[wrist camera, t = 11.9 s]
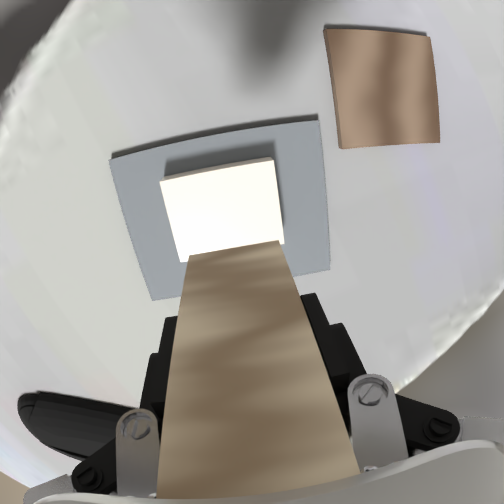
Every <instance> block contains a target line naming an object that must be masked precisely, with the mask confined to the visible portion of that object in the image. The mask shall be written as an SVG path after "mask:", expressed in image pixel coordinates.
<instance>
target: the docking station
mask: <svg viewBox="0 0 504 504" xmlns="http://www.w3.org/2000/svg"><path fill="white" fill-rule="evenodd" d="M17 406H18V413H19V416H20V418H21V420H22V422H23V424H24V425H25V426H26V428H27V429H28V430H29V431H30V432H31V433H32V434H33V435H34V436H35V437H36V438H37V439H39V440H40V442H41V443H43V444H44V445H46V446H48V447H49V448H51V449H53V450H55V451H57V452H60V453H62V454H64V455H67V456H69V457H72V458H74V459H77V460H80V461H84V460H85V459H86V458H88V457H89V456H91V455H92V454H93V453H95V452H96V451H97V450H99V449H100V448H102V447H103V446H104V445H106V444H107V443H108V442H110V441H111V440H112V439H114V438H115V437H116V426H117V423H118V421H119V419H120V418H121V417H122V416H123V415H124V414H125V413H126V412H128V411H130V410H133V409H130V408H125V407H120V406H116V405H111V404H106V403H100V402H95V401H90V400H85V399H80V398H74V397H68V396H63V395H57V394H51V393H43V392H40V395H32V394H31V395H25V396H22V397H21V398H20V399H19V401H18V405H17Z"/></svg>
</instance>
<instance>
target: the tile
mask: <svg viewBox="0 0 504 504" xmlns="http://www.w3.org/2000/svg"><path fill="white" fill-rule="evenodd" d="M160 186H161V190H162V194H163V198H164V202H165V206H166V210H167V214H168V218H169V221H170V225H171V229H172V233H173V236H174V240H175V244H176V247H177V251H178V254H179V258H180V261H181V262H185V261H188V257H189V255H193V254H199V253H205V252H211V251H216V250H222V249H228V248H234V247H240V246H246V245H251V244H257V243H263V242H269V241H275V240H279V242H280V244H284V235H283V227H282V219H281V211H280V204H279V196H278V189H277V181H276V174H275V167H274V160H273V159H272V158H271V157H265V158H258V159H252V160H246V161H240V162H234V163H229V164H223V165H218V166H213V167H207V168H202V169H197V170H192V171H188V172H183V173H178V174H174V175H169V176H165V177H163V178H162V179H161V181H160Z"/></svg>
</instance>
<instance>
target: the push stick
mask: <svg viewBox="0 0 504 504" xmlns="http://www.w3.org/2000/svg"><path fill="white" fill-rule="evenodd" d="M358 474H361V473H360V470H359V467H358V464H357V460H356V457H355V454H354V451H353V448H352V445H351V442H350V439H349V436H348V433H347V430H346V427H345V424H344V421H343V418H342V415H341V412H340V409H339V406H338V403H337V400H336V397H335V394H334V391H333V388H332V385H331V382H330V380H329V377H328V374H327V371H326V368H325V365H324V362H323V359H322V357H321V354H320V351H319V348H318V345H317V343H316V340H315V337H314V334H313V331H312V329H311V326H310V323H309V320H308V317H307V315H306V312H305V309H304V306H303V304H302V301H301V298H300V296H299V293H298V290H297V287H296V285H295V282H294V279H293V277H292V274H291V271H290V269H289V266H288V263H287V261H286V258H285V255H284V253H283V250H282V248H281V245H280V242H279V240H275V241H269V242H263V243H257V244H251V245H246V246H240V247H234V248H228V249H222V250H216V251H211V252H205V253H199V254H193V255H189V257H188V262H187V268H186V273H185V278H184V284H183V289H182V295H181V301H180V306H179V312H178V318H177V324H176V331H175V337H174V343H173V350H172V357H171V364H170V371H169V378H168V385H167V393H166V401H165V409H164V418H163V427H162V436H161V446H160V456H159V468H158V480H157V493H156V499H211V498H228V497H240V496H250V495H259V494H267V493H274V492H281V491H287V490H293V489H298V488H303V487H308V486H313V485H318V484H323V483H327V482H331V481H335V480H339V479H343V478H347V477H351V476H354V475H358Z"/></svg>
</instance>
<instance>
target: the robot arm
mask: <svg viewBox="0 0 504 504" xmlns="http://www.w3.org/2000/svg"><path fill="white" fill-rule="evenodd" d="M300 298H301V301H302V304H303V306H304V309H305V312H306V315H307V317H308V320H309V323H310V326H311V329H312V331H313V334H314V337H315V340H316V343H317V345H318V348H319V351H320V354H321V357H322V359H323V362H324V365H325V368H326V371H327V374H328V377H329V380H330V382H331V385H332V388H333V391H334V394H335V397H336V400H337V403H338V406H339V409H340V412H341V415H342V418H343V421H344V424H345V427H346V430H347V433H348V436H349V439H350V442H351V445H352V448H353V451H354V454H355V457H356V460H357V464H358V467H359V470H360V473H361V474H358V475H354V476H351V477H347V478H343V479H339V480H335V481H331V482H327V483H323V484H318V485H313V486H308V487H303V488H298V489H293V490H287V491H281V492H274V493H267V494H259V495H250V496H240V497H228V498H211V499H156V493H157V480H158V468H159V456H160V446H161V436H162V427H163V418H164V409H165V401H166V393H167V385H168V378H169V371H170V364H171V357H172V350H173V343H174V337H175V331H176V324H177V318H178V316H173V317H166V319H165V322H164V327H163V332H162V337H161V341H160V346H159V351H158V353H152V354H151V355H150V358H149V363H148V367H147V372H146V377H145V382H144V387H143V392H142V397H141V402H140V407H139V409H133V410H130V411H128V412H126V413H125V414H124V415H123V416H122V417H121V418H120V419H119V421H118V423H117V426H116V437H115V438H114V439H112V440H111V441H110V442H108V443H107V444H106V445H104V446H103V447H102V448H100V449H99V450H97V451H96V452H95V453H93V454H92V455H91V456H89V457H88V458H86V459H85V460H84V461H82V462H81V463H79V464H78V465H77V466H76V467H75V469H74V470H73V472H72V475H70V476H69V475H68V474H65V475H63V476H60V477H58V478H55V479H53V480H51V481H48V482H46V483H43V484H41V485H38V486H35V487H33V488H31V489H29V490H28V491H27V492H26V493H25V495H24V499H23V502H24V504H504V419H501V418H481V417H468V416H464V417H463V419H458V418H457V417H456V416H455V415H454V414H452V413H451V412H449V411H447V410H443V409H440V408H437V407H434V406H431V405H428V404H424V403H421V402H418V401H415V400H412V399H409V398H406V397H403V396H400V395H397V394H395V393H394V389H393V386H392V384H391V382H390V381H389V380H388V379H387V378H385V377H383V376H381V375H377V374H367V373H366V371H365V369H364V367H363V364H362V362H361V360H360V358H359V356H358V354H357V352H356V350H355V347H354V345H353V343H352V341H351V339H350V337H349V335H348V333H347V331H346V329H345V327H344V325H343V324H342V323H338V324H333V325H329V322H328V320H327V318H326V315H325V313H324V311H323V309H322V306H321V304H320V302H319V300H318V297H317V295H316V293H311V294H305V295H301V296H300Z"/></svg>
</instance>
